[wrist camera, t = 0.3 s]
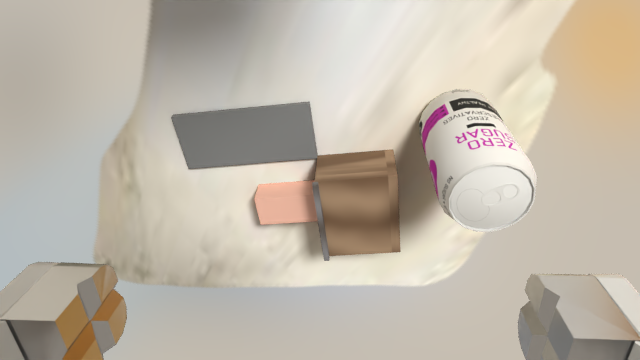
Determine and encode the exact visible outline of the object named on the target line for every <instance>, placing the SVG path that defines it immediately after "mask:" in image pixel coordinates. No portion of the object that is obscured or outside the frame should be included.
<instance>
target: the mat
mask: <svg viewBox="0 0 640 360" xmlns="http://www.w3.org/2000/svg"><path fill="white" fill-rule="evenodd" d="M171 118H172V121H173V124H174V127H175V130H176V132H177V135H178V138H179V141H180V144H181V147H182V150H183V153H184V156H185V159H186V162H187V165H188V167H189V169H191V168H204V167H216V166H228V165H241V164H253V163H265V162H278V161H290V160H302V159H315V158H317V156H318V155H317V149H316V142H315V135H314V129H313V122H312V115H311V109H310V102H301V103H291V104H281V105H270V106H260V107H250V108H239V109H229V110H218V111H208V112H198V113H187V114H177V115H173V116H172V117H171Z"/></svg>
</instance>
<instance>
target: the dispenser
mask: <svg viewBox="0 0 640 360" xmlns="http://www.w3.org/2000/svg"><path fill="white" fill-rule="evenodd" d="M312 189H313V195H314V201H315V207H316V213H317V219H318V225H319V231H320V237H321V243H322V249H323V255H324V261H329V256H336V255H355V254H373V253H391V252H400V230H399V201H398V175H397V169H396V163H395V157H394V152H393V150H382V151H369V152H357V153H345V154H333V155H320V156H317V165H316V173H315V181H314V182H313V183H312Z"/></svg>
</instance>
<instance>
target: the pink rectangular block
mask: <svg viewBox="0 0 640 360" xmlns="http://www.w3.org/2000/svg"><path fill="white" fill-rule="evenodd" d="M314 181H315V180H311V181H297V182H284V183H270V184H259V185H258V188H257V192H256V195H255V198H254V200H255V204H256V208H257V212H258V216H259V220H260V224H261V225H265V224H281V223H297V222H313V221H318V219H317V213H316V207H315V201H314V195H313V189H312V183H313V182H314Z"/></svg>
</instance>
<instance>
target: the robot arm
mask: <svg viewBox="0 0 640 360" xmlns="http://www.w3.org/2000/svg"><path fill="white" fill-rule="evenodd" d="M117 282H118V279H117V276H116V274H115V271H114V268H113V267H111V266H109V265H106V264H83V263H54V262H37V263H33V264H30V265H28V267H26V268H25V269H24V270H23V271H22V272H21V273H20V274H19V275H18V276H17V277H16V278H14V279H13V280H12V281H11V282H10V283H9V284H8V285H7V286H6V287H5V288H4V289H3V290H2V291H1V292H0V360H104V358H103V353H104V352H106V351H107V350H109V349H110V348H112V347H113V346H115V345H116V344H117V342H118V340H119V338H120V337H121V335H122V334H123V331H124V327H125V323H126V319H127V314H126V313H127V312H126V304H125V301H124V298H123V297H122V296H121V295H120V294H119V293H118V292H116V291H115V290H114V287H115V285H116V283H117ZM525 292H526V294H527V296H528V298H529V300H530V301H529V302H528V303H527V304H526V305H525V306H523V307H522V308H521V309H520V314H519V320H518V334H519V340H520V345H521V349H522V351H523V354H524V356H525V359H526V360H640V294H639V293H638V292H637V291H636V290H635V288H634V287H633V286H632V285H631V284H630V283H629V281H628V280H627V279H626V278H625V277H623V276H621V275H619V274H588V275H573V274H571V275H570V274H531V275H530V277H529V278H528V280H527V284H526V288H525Z"/></svg>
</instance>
